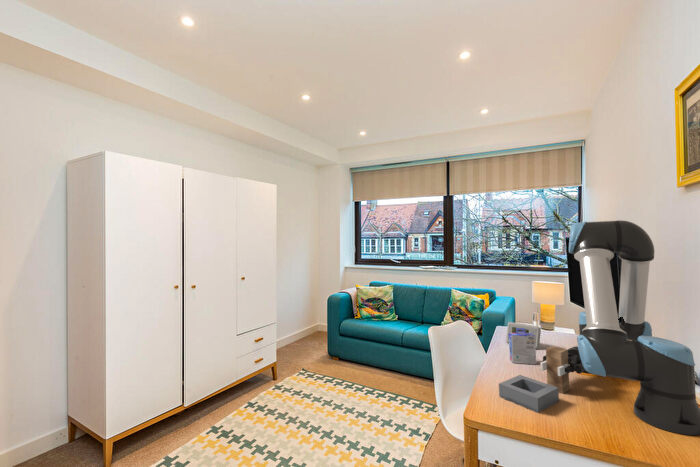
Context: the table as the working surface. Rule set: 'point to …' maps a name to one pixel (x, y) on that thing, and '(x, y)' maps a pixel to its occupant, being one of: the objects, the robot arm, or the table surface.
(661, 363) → the robot arm
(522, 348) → the ink cartridge box
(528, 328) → the digital clock
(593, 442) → the table surface
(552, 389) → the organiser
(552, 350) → the walnut block
